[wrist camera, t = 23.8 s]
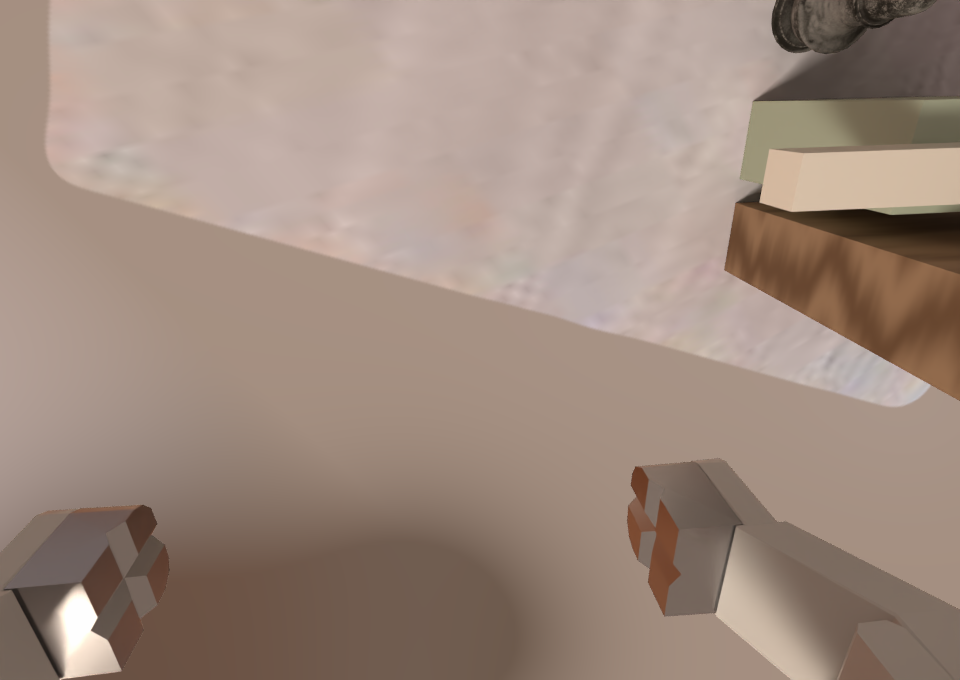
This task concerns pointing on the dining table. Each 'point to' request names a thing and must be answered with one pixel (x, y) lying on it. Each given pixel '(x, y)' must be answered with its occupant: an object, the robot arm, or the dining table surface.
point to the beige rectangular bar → (862, 177)
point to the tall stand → (862, 278)
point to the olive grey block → (850, 130)
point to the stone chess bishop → (834, 21)
